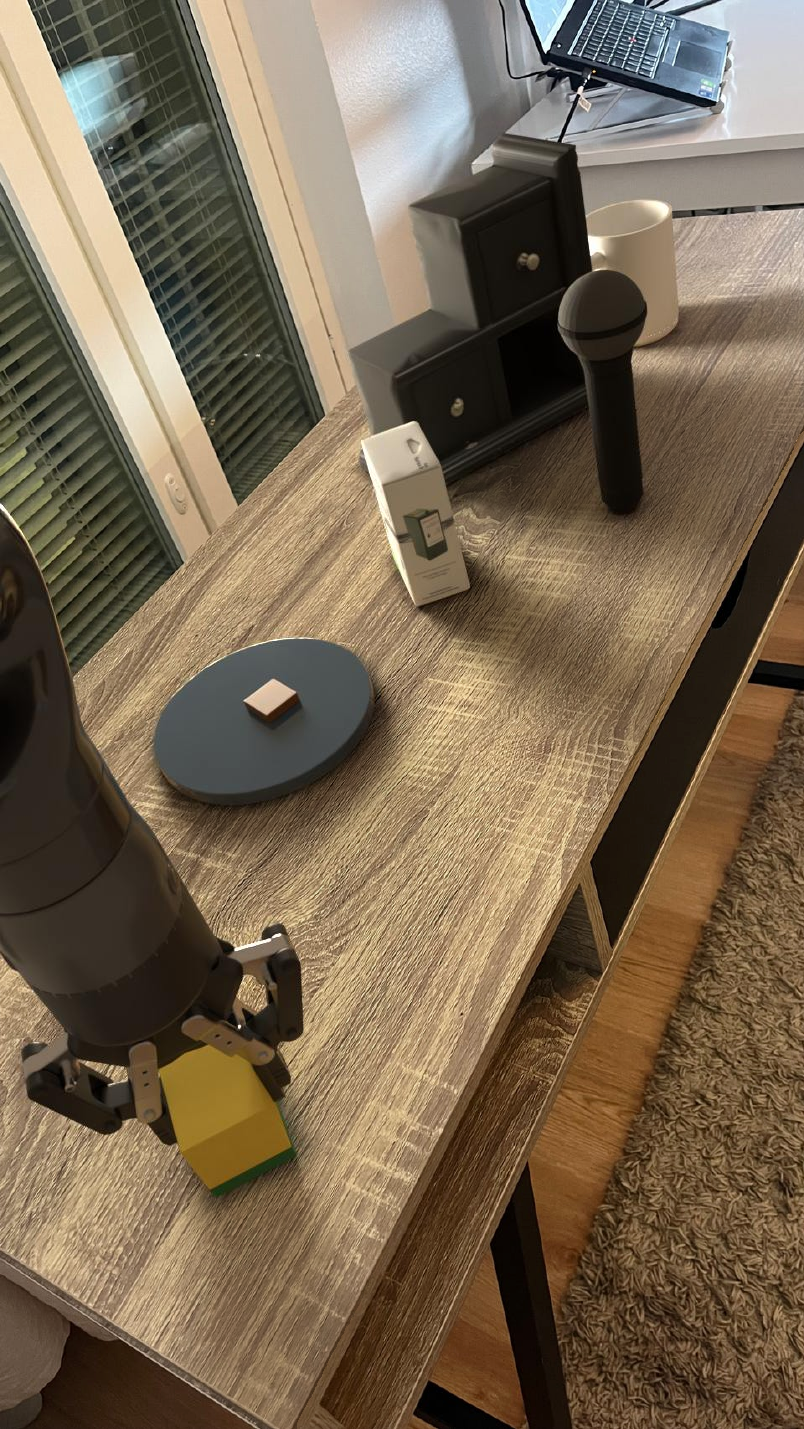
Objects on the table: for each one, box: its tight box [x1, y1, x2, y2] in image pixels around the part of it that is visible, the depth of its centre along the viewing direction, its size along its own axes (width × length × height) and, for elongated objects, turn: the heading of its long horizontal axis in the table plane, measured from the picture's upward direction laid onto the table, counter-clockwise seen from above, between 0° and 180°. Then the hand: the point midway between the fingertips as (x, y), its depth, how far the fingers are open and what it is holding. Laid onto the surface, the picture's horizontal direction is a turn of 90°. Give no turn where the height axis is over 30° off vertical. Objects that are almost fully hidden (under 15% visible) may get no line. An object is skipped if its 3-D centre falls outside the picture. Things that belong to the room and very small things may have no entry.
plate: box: [153, 637, 376, 806], centre depth 81 cm, size 17×17×1 cm
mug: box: [585, 198, 680, 348], centre depth 110 cm, size 10×12×12 cm
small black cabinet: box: [346, 132, 592, 486], centre depth 98 cm, size 23×11×24 cm, turn 122°
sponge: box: [158, 1045, 298, 1199], centre depth 55 cm, size 4×7×5 cm, turn 23°
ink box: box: [360, 421, 471, 607], centre depth 87 cm, size 9×5×12 cm, turn 14°
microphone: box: [557, 270, 648, 516], centre depth 84 cm, size 7×7×20 cm
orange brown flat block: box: [244, 679, 300, 723], centre depth 80 cm, size 3×3×1 cm
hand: (230, 1108), depth 56 cm, fingers closed on sponge, 4 cm apart
